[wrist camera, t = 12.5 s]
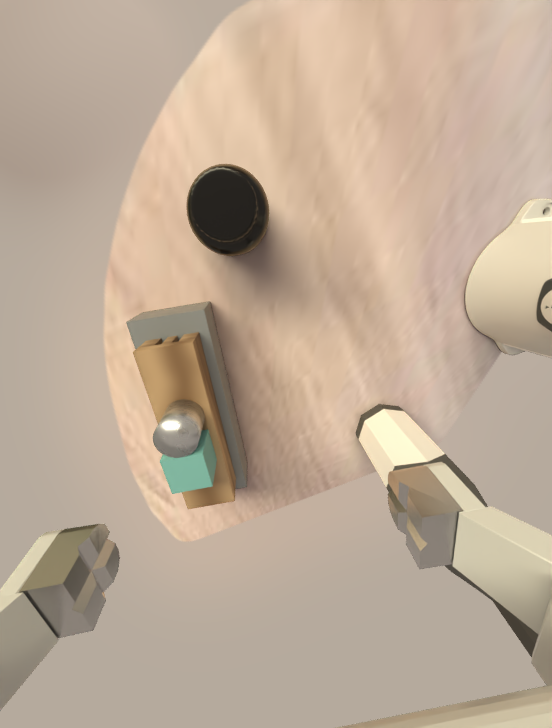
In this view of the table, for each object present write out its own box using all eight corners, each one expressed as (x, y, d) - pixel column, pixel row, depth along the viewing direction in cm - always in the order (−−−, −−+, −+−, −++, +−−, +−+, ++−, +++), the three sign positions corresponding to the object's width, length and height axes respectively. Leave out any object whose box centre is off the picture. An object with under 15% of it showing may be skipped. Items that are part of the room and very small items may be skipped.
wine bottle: (358, 454, 45) (536, 792, 17) (351, 410, 42) (555, 731, 14) (409, 442, 45) (673, 759, 17) (406, 396, 42) (721, 692, 14)
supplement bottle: (254, 176, 30) (257, 133, 19) (273, 244, 33) (285, 241, 22) (191, 196, 31) (158, 166, 19) (215, 262, 33) (198, 269, 22)
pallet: (198, 332, 31) (192, 342, 27) (236, 478, 38) (234, 500, 35) (146, 340, 31) (132, 352, 27) (193, 485, 38) (187, 509, 35)
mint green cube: (208, 429, 31) (202, 453, 27) (216, 459, 32) (212, 486, 29) (170, 436, 31) (159, 461, 27) (181, 465, 32) (172, 493, 29)
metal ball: (199, 396, 29) (192, 417, 26) (208, 429, 31) (203, 453, 27) (160, 402, 29) (147, 425, 26) (171, 435, 31) (160, 461, 27)
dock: (210, 301, 35) (203, 309, 30) (247, 461, 43) (246, 487, 39) (142, 312, 34) (126, 322, 30) (193, 471, 43) (187, 497, 39)
